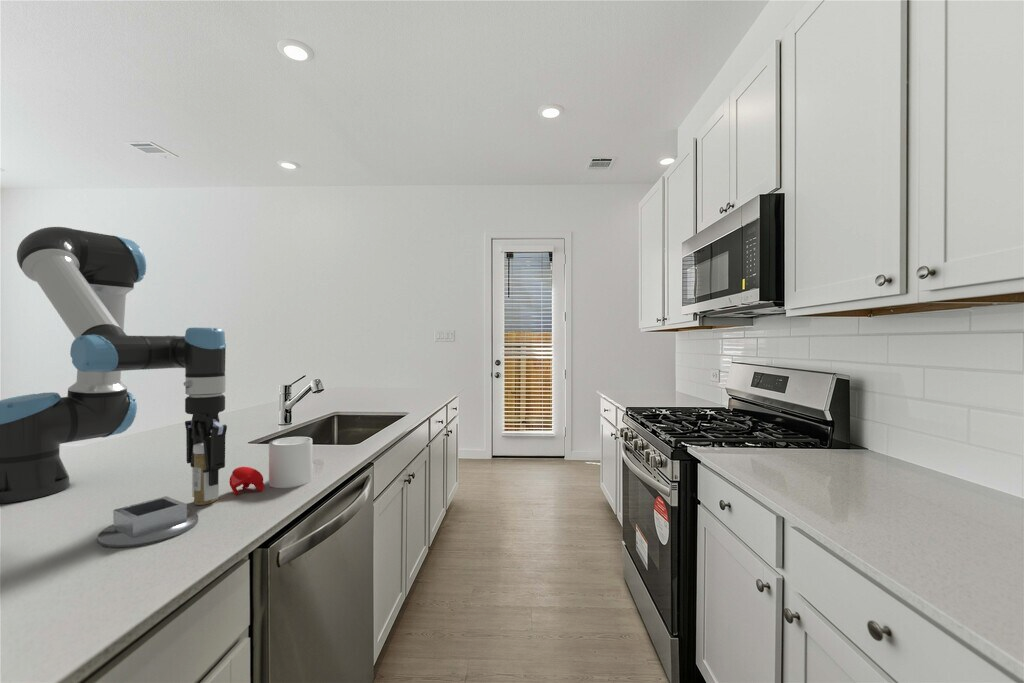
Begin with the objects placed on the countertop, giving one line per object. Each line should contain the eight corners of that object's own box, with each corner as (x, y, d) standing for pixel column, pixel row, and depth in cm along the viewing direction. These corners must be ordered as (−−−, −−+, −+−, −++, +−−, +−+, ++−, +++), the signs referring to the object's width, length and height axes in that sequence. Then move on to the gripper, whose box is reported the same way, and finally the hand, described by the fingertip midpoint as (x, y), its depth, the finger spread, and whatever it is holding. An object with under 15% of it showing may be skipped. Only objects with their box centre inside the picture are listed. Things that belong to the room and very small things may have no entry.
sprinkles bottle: (217, 503, 100) (217, 444, 100) (192, 507, 98) (192, 446, 98) (217, 497, 104) (217, 440, 104) (193, 501, 102) (193, 442, 102)
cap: (220, 484, 104) (243, 470, 104) (228, 468, 109) (250, 456, 110) (244, 505, 107) (266, 492, 108) (251, 489, 113) (272, 477, 113)
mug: (267, 475, 120) (267, 436, 120) (307, 470, 126) (308, 433, 126) (269, 490, 109) (270, 447, 109) (314, 483, 114) (315, 442, 114)
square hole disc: (84, 535, 84) (84, 512, 84) (176, 509, 97) (176, 489, 97) (118, 555, 76) (118, 529, 76) (212, 524, 89) (212, 502, 89)
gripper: (168, 394, 102) (167, 495, 102) (207, 399, 93) (207, 510, 93) (203, 391, 109) (203, 485, 109) (243, 395, 100) (243, 499, 100)
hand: (205, 496), depth 101 cm, fingers closed on sprinkles bottle, 4 cm apart
